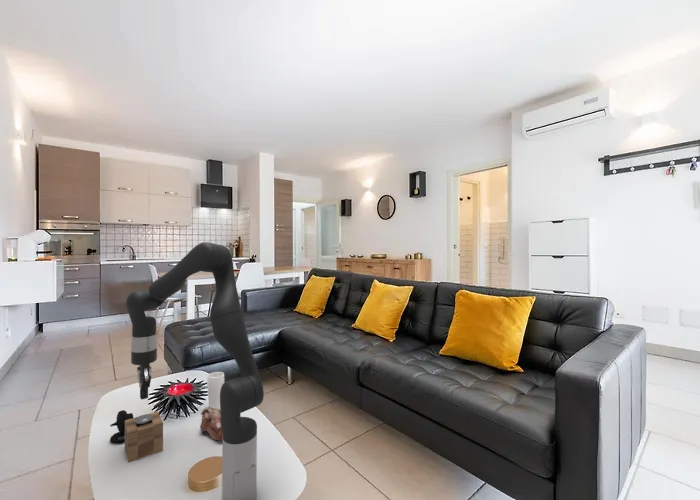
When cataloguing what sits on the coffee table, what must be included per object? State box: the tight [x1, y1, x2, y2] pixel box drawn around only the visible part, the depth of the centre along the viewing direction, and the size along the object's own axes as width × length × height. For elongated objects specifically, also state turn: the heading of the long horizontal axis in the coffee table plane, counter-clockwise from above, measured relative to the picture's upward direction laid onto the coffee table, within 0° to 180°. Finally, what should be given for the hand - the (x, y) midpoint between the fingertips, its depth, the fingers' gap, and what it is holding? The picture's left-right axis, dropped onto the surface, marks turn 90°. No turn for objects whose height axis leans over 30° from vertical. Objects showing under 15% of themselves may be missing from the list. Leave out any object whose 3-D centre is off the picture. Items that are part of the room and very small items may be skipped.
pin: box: [135, 413, 152, 426], centre depth 113 cm, size 5×5×10 cm
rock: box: [199, 405, 223, 441], centre depth 124 cm, size 16×11×15 cm
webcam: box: [109, 410, 134, 445], centre depth 119 cm, size 8×8×10 cm
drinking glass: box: [206, 371, 225, 409], centre depth 141 cm, size 7×7×15 cm
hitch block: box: [124, 411, 164, 463], centre depth 113 cm, size 10×10×10 cm
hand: (144, 398), depth 113 cm, fingers closed
